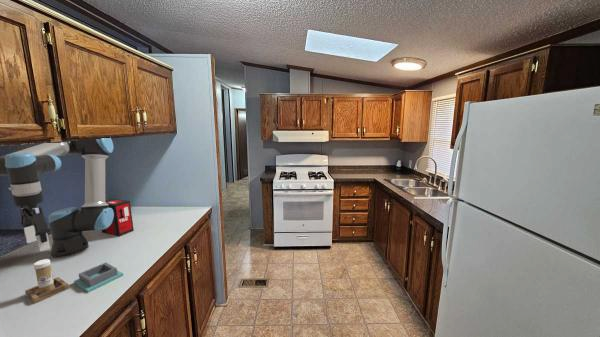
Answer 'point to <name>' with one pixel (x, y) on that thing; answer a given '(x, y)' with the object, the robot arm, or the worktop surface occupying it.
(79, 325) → the worktop surface
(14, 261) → the worktop surface
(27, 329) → the worktop surface
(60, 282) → the stand collar
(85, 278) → the plate
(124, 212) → the cleaning product box
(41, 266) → the sprinkles bottle
